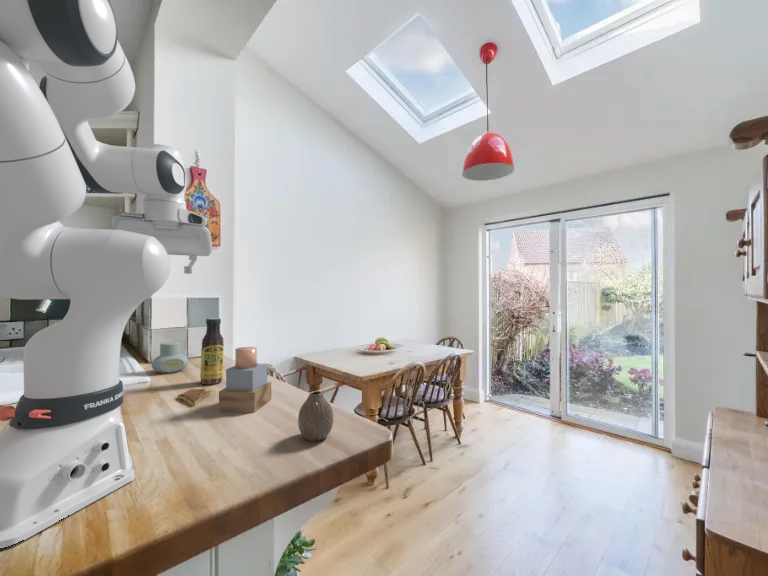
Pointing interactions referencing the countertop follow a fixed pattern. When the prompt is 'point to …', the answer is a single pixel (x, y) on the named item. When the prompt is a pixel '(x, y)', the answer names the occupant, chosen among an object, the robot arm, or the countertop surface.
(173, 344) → the air freshener
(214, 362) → the sauce bottle
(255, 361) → the peach pillar candle
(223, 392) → the base block
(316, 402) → the vase
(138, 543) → the countertop surface
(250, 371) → the top block
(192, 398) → the toasted sandwich
